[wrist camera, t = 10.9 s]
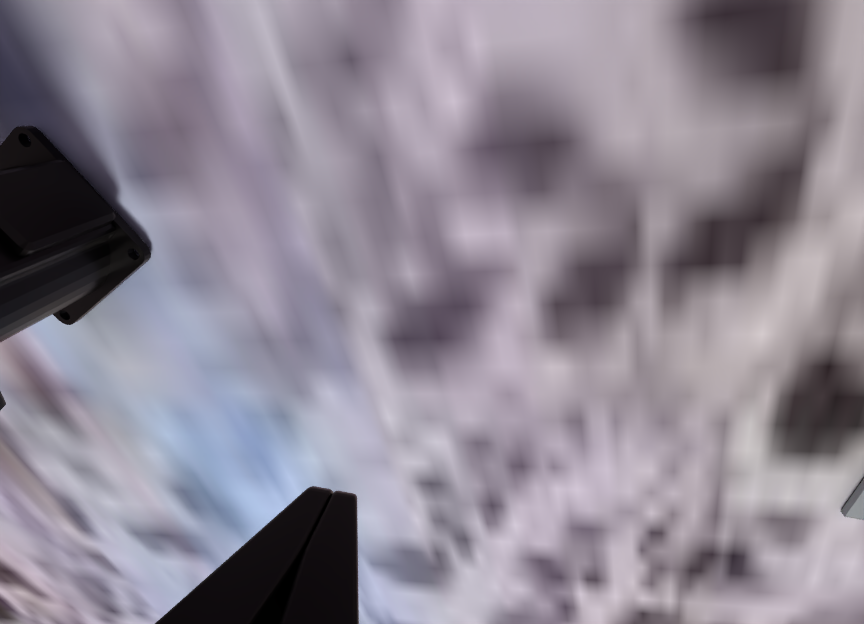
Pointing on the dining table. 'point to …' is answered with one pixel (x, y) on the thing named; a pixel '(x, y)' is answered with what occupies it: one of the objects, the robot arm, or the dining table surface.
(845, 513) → the mat
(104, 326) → the dining table surface
